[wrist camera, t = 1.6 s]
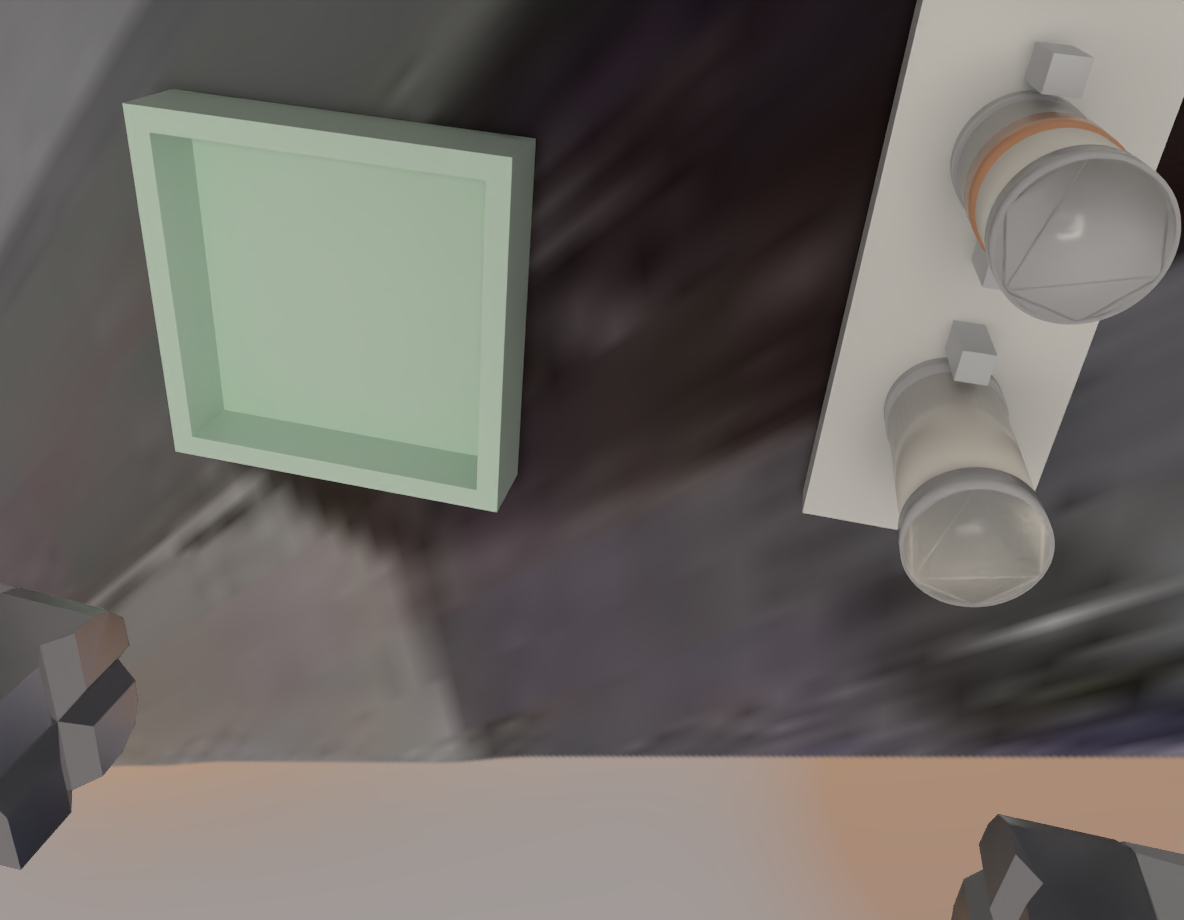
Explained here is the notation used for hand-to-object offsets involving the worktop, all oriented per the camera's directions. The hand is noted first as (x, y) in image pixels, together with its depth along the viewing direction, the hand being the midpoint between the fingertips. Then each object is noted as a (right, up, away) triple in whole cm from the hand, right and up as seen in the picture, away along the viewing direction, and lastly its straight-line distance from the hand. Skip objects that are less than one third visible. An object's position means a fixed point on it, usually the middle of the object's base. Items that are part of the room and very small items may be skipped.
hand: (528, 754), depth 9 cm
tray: (-10, +10, +36) cm, 38 cm away
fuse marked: (+16, +13, +25) cm, 33 cm away
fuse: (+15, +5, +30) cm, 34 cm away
